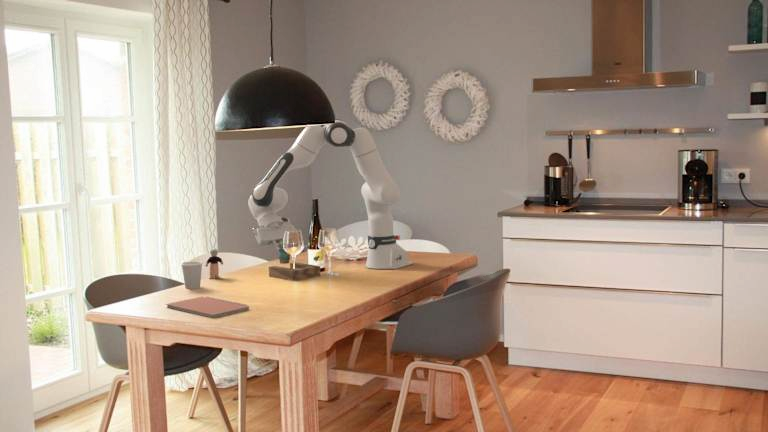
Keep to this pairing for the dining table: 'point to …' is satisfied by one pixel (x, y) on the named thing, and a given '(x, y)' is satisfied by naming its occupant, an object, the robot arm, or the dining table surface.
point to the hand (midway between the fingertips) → (285, 249)
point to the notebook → (208, 306)
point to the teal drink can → (283, 254)
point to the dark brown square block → (295, 271)
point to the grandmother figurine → (214, 264)
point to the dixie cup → (192, 274)
